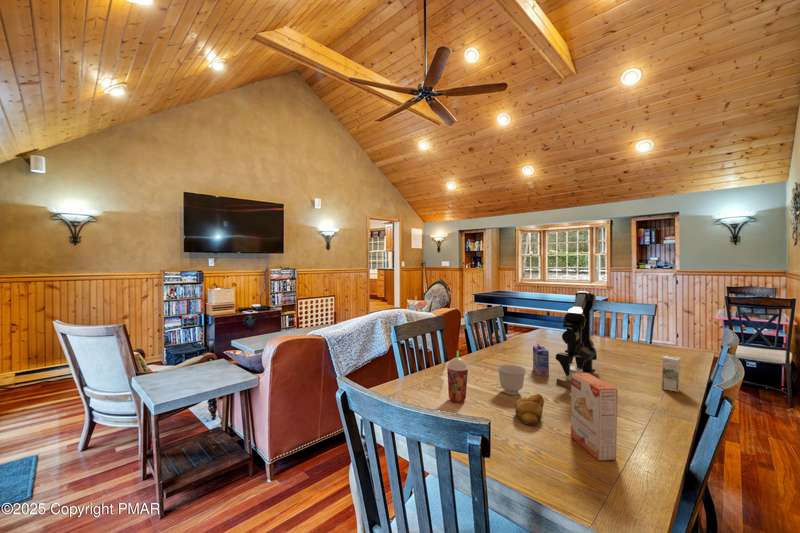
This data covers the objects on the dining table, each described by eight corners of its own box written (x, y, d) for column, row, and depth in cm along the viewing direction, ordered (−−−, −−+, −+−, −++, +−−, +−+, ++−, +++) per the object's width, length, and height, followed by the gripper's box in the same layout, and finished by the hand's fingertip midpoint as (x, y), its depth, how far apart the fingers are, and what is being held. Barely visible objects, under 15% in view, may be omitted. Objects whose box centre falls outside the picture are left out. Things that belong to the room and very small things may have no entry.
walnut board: (569, 380, 168) (569, 374, 168) (590, 387, 159) (590, 380, 159) (556, 384, 162) (556, 378, 162) (577, 391, 154) (577, 385, 154)
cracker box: (569, 436, 114) (570, 372, 114) (587, 436, 115) (588, 372, 114) (596, 461, 100) (598, 388, 100) (617, 461, 101) (618, 388, 100)
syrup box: (679, 389, 156) (680, 356, 156) (678, 393, 152) (679, 359, 151) (663, 386, 160) (664, 354, 160) (661, 389, 156) (662, 356, 155)
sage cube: (572, 376, 164) (572, 366, 164) (582, 380, 160) (582, 369, 160) (565, 378, 162) (565, 367, 161) (575, 382, 157) (576, 371, 157)
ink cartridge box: (531, 369, 183) (532, 341, 183) (543, 369, 183) (543, 341, 182) (537, 375, 173) (537, 346, 173) (549, 376, 173) (549, 346, 173)
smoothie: (469, 398, 145) (469, 349, 145) (466, 406, 137) (466, 354, 137) (448, 395, 148) (449, 347, 147) (444, 403, 140) (445, 352, 139)
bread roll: (539, 429, 119) (540, 406, 119) (510, 423, 124) (510, 400, 124) (544, 414, 130) (545, 393, 130) (517, 409, 135) (517, 388, 135)
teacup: (528, 387, 157) (528, 365, 157) (524, 399, 144) (525, 375, 143) (500, 383, 162) (500, 361, 162) (494, 394, 149) (494, 371, 149)
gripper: (578, 346, 149) (578, 383, 149) (603, 341, 158) (603, 375, 159) (555, 340, 158) (554, 375, 159) (580, 336, 168) (579, 368, 168)
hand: (573, 374), depth 161 cm, fingers open, 9 cm apart
